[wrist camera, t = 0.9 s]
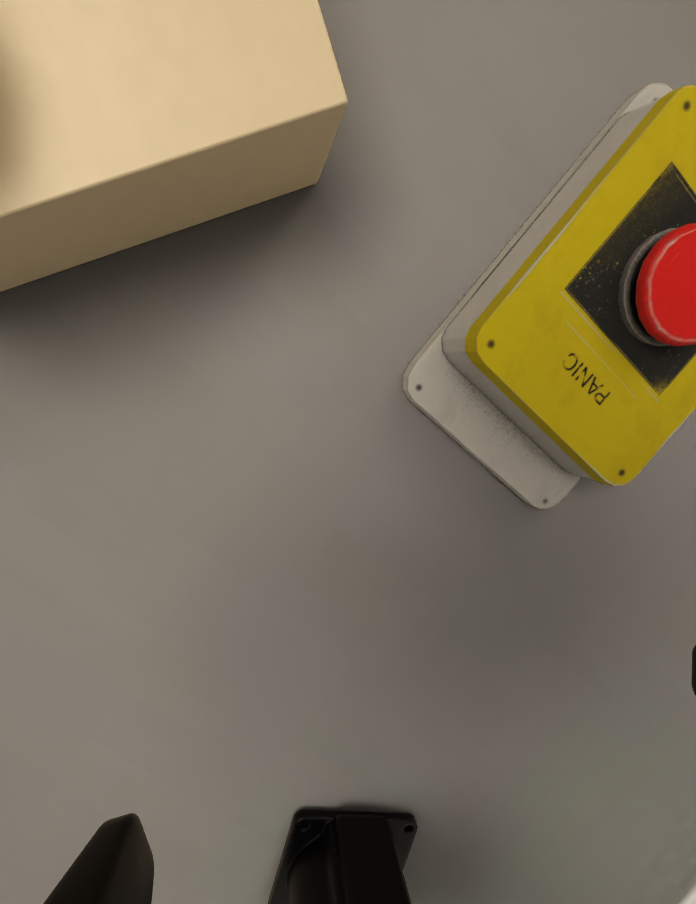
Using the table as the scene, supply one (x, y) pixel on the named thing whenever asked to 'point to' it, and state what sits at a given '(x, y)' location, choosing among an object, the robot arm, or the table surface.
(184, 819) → the table surface
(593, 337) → the emergency button
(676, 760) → the table surface
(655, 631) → the table surface
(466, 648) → the table surface
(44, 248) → the button base
